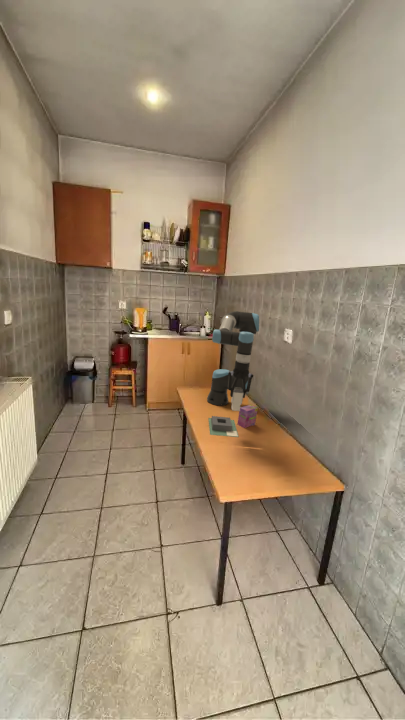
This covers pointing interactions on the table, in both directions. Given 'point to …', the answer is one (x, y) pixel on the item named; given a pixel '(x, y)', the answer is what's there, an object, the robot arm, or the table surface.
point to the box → (247, 416)
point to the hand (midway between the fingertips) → (236, 402)
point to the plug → (237, 399)
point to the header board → (221, 433)
